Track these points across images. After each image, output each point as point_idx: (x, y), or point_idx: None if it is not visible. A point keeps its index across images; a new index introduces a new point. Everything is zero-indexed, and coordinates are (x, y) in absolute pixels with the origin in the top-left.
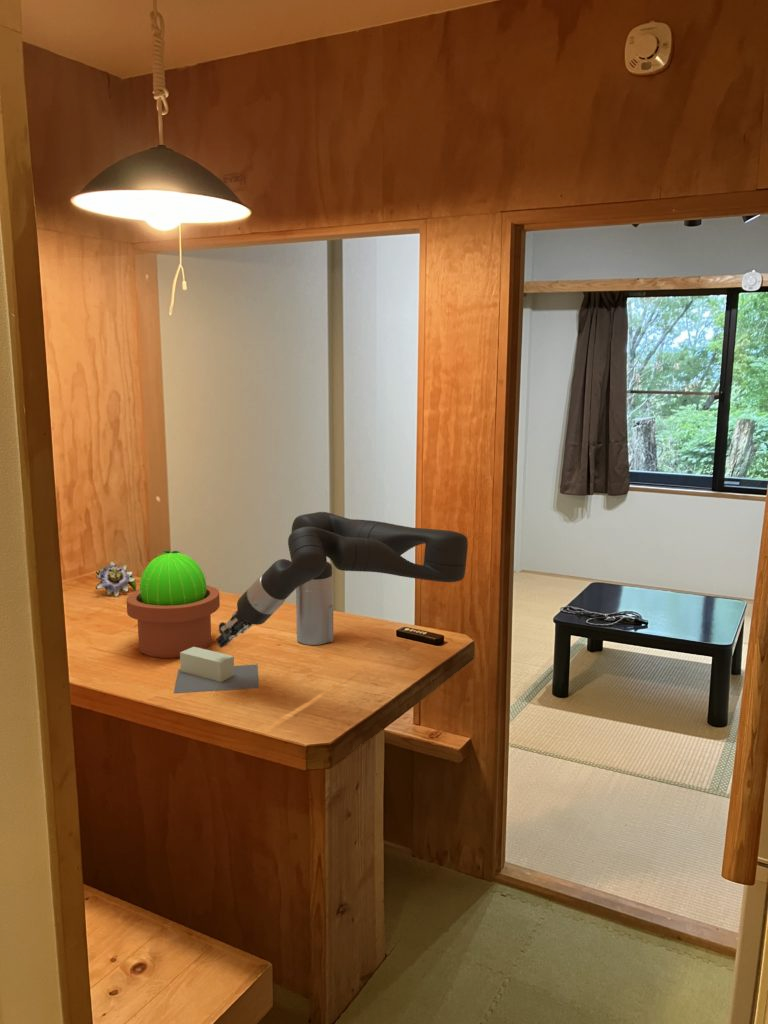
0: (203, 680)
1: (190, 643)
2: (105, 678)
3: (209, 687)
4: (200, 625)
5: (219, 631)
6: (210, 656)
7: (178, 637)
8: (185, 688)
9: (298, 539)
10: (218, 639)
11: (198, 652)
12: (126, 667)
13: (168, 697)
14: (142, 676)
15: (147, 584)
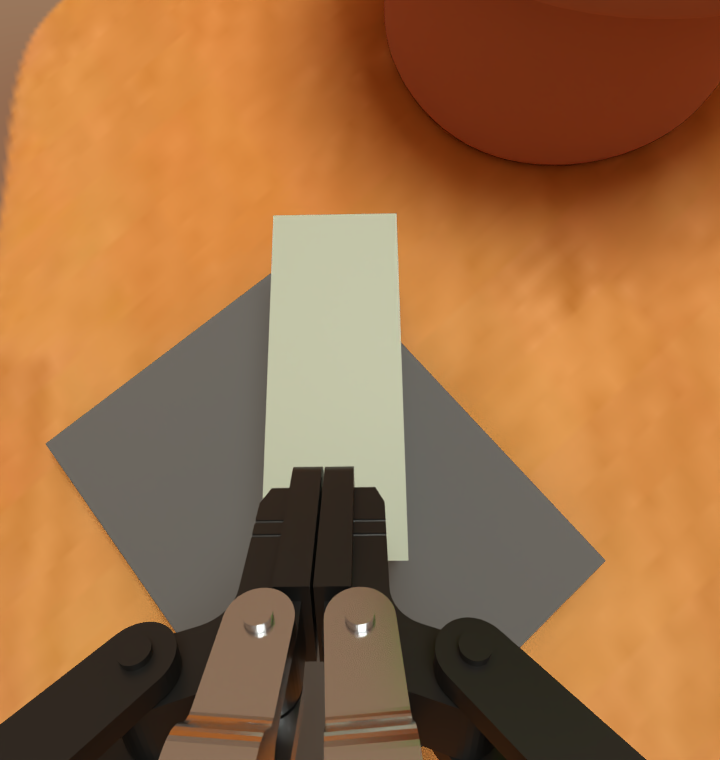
0: (251, 456)
1: (514, 112)
2: (114, 62)
3: (189, 555)
4: (631, 43)
5: (92, 662)
6: (317, 419)
7: (466, 46)
8: (120, 452)
9: None
10: (257, 523)
11: (333, 305)
12: (247, 43)
13: (53, 422)
14: (201, 158)
15: None
